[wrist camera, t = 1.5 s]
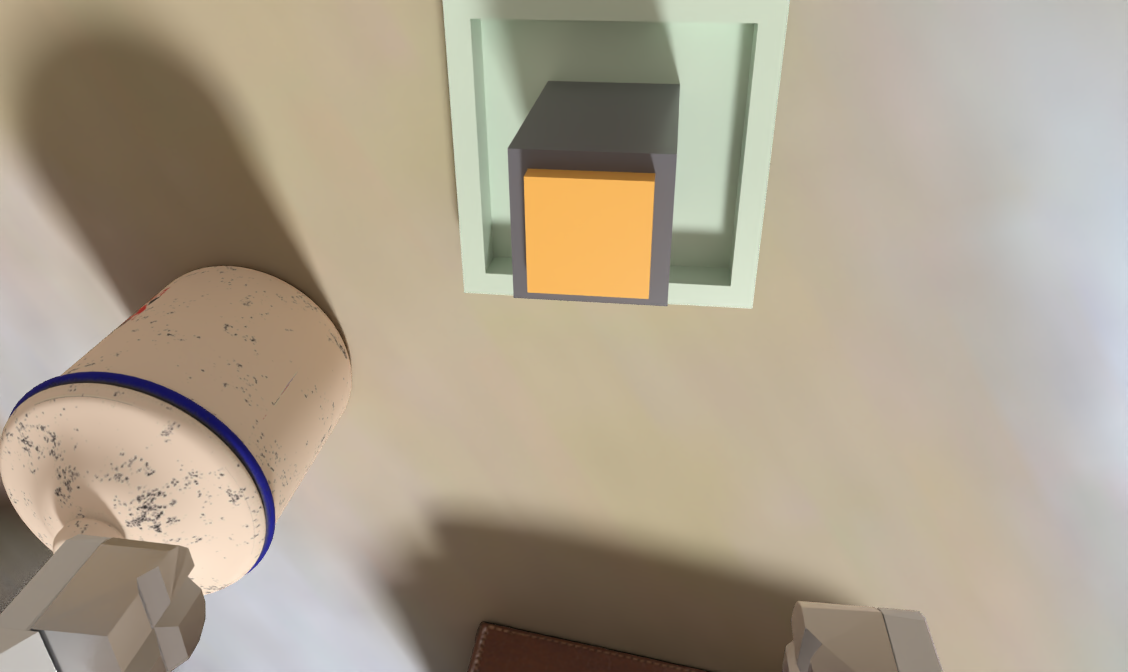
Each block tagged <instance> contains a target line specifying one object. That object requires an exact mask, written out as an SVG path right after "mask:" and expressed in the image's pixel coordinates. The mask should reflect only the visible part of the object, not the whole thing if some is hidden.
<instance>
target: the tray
mask: <svg viewBox="0 0 1128 672" xmlns="http://www.w3.org/2000/svg"><path fill="white" fill-rule="evenodd" d="M789 3H790V0H443V12H444V25H445V39H446V52H447V66H448V79H449V93H450V106H451V120H452V133H453V146H454V160H455V173H456V187H457V200H458V214H459V227H460V241H461V254H462V267H463V281H464V293H479V294H497V295H513V270H512V246H511V222H510V197H509V173H508V149H507V148H508V147H509V145H510V143H511V142H512V140H513V138H514V137H515V135H516V134H517V132H518V130H519V129H520V127H521V125H522V124H523V122H524V120H525V119H526V117H527V115H528V114H529V112H530V110H531V109H532V107H533V105H534V104H535V102H536V100H537V99H538V97H539V95H540V94H541V92H542V90H543V89H544V87H545V85H546V84H547V82H548V81H572V82H612V83H651V84H680V97H679V120H678V143H677V163H676V178H675V194H674V210H673V226H672V241H671V257H670V273H669V288H668V304H678V305H697V306H715V307H733V308H751V309H752V307H753V299H754V290H755V282H756V274H757V266H758V258H759V249H760V241H761V233H762V225H763V217H764V208H765V200H766V192H767V184H768V176H769V167H770V159H771V151H772V143H773V135H774V126H775V118H776V110H777V102H778V94H779V85H780V77H781V69H782V61H783V53H784V44H785V36H786V28H787V20H788V12H789Z"/></svg>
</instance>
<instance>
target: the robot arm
mask: <svg viewBox="0 0 1128 672" xmlns="http://www.w3.org/2000/svg"><path fill="white" fill-rule="evenodd" d="M194 566H195V565H194V562H193V559H192V556H191V554H190V551H189V548H187V547H183V546H180V545H172V544H164V543H155V542H147V541H139V540H130V539H122V538H109V537H100V536H91V535H82V534H78V535H76V536H74V537H72V538H70V539H68V540H66V541H65V542H64V543H63V544H62V545H61V546H60V548H59V549H58V550H57V551H56V552H55V553H54V554H53V555H52V557H51V558H50V559H49V560H48V561H47V562H46V563H45V564H44V566H43V567H42V568H41V569H40V570H39V571H38V572H37V573H36V575H35V576H34V577H33V578H32V579H31V580H30V581H29V582H28V584H27V585H26V586H25V587H24V588H23V589H22V590H21V591H20V593H19V594H18V595H17V596H16V597H15V598H14V599H13V600H12V602H11V603H10V604H9V605H8V606H7V607H6V608H5V609H4V611H3V612H2V613H1V614H0V672H170V671H172V670H173V669H175V668H176V667H178V666H179V665H181V664H182V663H184V662H185V661H187V660H188V659H189V658H190V656H191V654H192V653H193V651H194V649H195V647H196V646H197V644H198V642H199V640H200V636H201V633H202V629H203V626H204V622H205V599H204V596H203V592H202V589H201V588H200V587H199V586H198V585H196V584H195V583H194V582H193V581H192V580H191V579H190V578H189V577H188V575H189V574H190V572H191V571H192V569H193V568H194ZM791 627H792V634H793V641H791V642H790V643H789V644H787V645H786V647H785V653H784V659H783V665H782V672H943V670H942V667H941V664H940V661H939V658H938V655H937V652H936V649H935V646H934V643H933V640H932V637H931V634H930V631H929V628H928V625H927V622H926V619H925V617H924V616H923V615H922V614H921V613H920V611H912V610H901V609H889V608H877V609H876V608H875V607H868V606H855V605H843V604H830V603H818V602H805V601H797V602H796V604H795V606H794V609H793V613H792V618H791Z"/></svg>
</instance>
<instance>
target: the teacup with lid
mask: <svg viewBox="0 0 1128 672" xmlns="http://www.w3.org/2000/svg"><path fill="white" fill-rule="evenodd" d="M351 387H352V373H351V365H350V360H349V356H348V353H347V349H346V347H345V345H344V342H343V340H342V338H341V336H340V334H339V332H338V331H337V329H336V328H335V326H334V325H333V323H332V322H331V321H330V319H329V318H328V317H327V315H326V314H325V313H324V312H323V311H322V310H321V309H320V308H319V307H318V306H317V305H316V304H315V303H314V302H313V301H312V300H311V299H309V298H308V297H307V296H306V295H304V294H303V293H302V292H300V291H299V290H297V289H296V288H294V287H293V286H291V285H289V284H288V283H286V282H284V281H282V280H280V279H278V278H276V277H274V276H271V275H269V274H266V273H263V272H260V271H257V270H253V269H248V268H243V267H235V266H214V267H207V268H201V269H198V270H194V271H191V272H189V273H187V274H184V275H182V276H181V277H179V278H177V279H175V280H174V281H173V282H171V283H170V284H169V285H167V286H166V287H165V288H164V289H163V290H161V291H160V292H159V293H158V294H157V295H156V296H154V297H153V298H152V299H151V300H150V301H148V302H147V303H146V304H145V305H144V306H142V307H141V308H140V309H139V310H138V311H137V312H135V313H134V314H133V315H132V316H131V317H129V318H128V319H127V320H126V321H125V322H124V323H122V324H121V325H120V326H119V327H118V328H116V329H115V330H114V331H113V332H112V333H110V334H109V335H108V336H107V337H106V338H105V339H103V340H102V341H101V342H100V343H99V344H97V345H96V346H95V347H94V348H93V349H91V350H90V351H89V352H88V353H87V354H86V355H84V356H83V357H82V358H81V359H80V360H78V361H77V362H76V363H75V364H74V365H72V366H71V367H70V368H69V369H68V370H67V371H65V372H64V373H63V374H62V375H61V376H58V377H55V378H52V379H50V380H47V381H45V382H43V383H41V384H39V385H38V386H36V387H34V388H33V389H32V390H30V391H29V392H28V393H26V394H25V395H24V396H23V397H22V399H21V400H20V401H19V402H18V403H17V404H16V406H15V407H14V409H13V410H12V412H11V415H10V417H9V419H8V421H7V423H6V425H5V427H4V429H3V433H2V436H1V441H0V473H1V477H2V481H3V484H4V487H5V490H6V492H7V495H8V497H9V499H10V501H11V503H12V505H13V506H14V508H15V510H16V511H17V513H18V514H19V516H20V517H21V519H22V520H23V521H24V523H25V524H26V525H27V526H28V527H29V529H30V530H31V531H32V532H33V533H34V534H35V535H36V536H37V537H38V539H39V540H40V541H42V542H43V543H44V544H45V545H46V546H47V547H48V548H49V549H50V550H52V551H53V554H54V553H55V552H56V551H57V550H58V549H59V548H60V546H61V545H62V544H63V543H64V542H65V541H66V540H68V539H70V538H72V537H74V536H76V535H78V534H82V535H91V536H100V537H109V538H122V539H130V540H139V541H147V542H155V543H164V544H172V545H180V546H183V547H187V548H189V551H190V554H191V556H192V559H193V562H194V565H195V566H194V568H193V569H192V571H191V572H190V574H189V575H188V577H189V578H190V579H191V580H192V581H193V582H194V583H195V584H196V585H198V586H199V587H200V588H201V589H202V592H203V595H206V594H210V593H213V592H216V591H218V590H221V589H223V588H225V587H227V586H229V585H231V584H233V583H235V582H236V581H238V580H239V579H241V578H242V577H243V576H244V575H246V574H247V573H249V572H250V571H251V570H252V569H253V568H254V567H256V566H257V565H258V563H259V562H260V561H261V560H262V558H263V557H264V555H265V554H266V552H267V550H268V549H269V546H270V544H271V541H272V539H273V535H274V530H275V524H276V522H277V520H278V519H279V517H280V515H281V514H282V512H283V510H284V509H285V507H286V506H287V504H288V502H289V501H290V499H291V497H292V496H293V494H294V492H295V491H296V489H297V488H298V486H299V484H300V483H301V481H302V479H303V478H304V476H305V474H306V473H307V471H308V470H309V468H310V466H311V465H312V463H313V461H314V460H315V458H316V456H317V455H318V453H319V452H320V450H321V448H322V447H323V445H324V443H325V442H326V440H327V438H328V437H329V435H330V434H331V432H332V430H333V429H334V427H335V425H336V424H337V422H338V420H339V419H340V417H341V416H342V414H343V412H344V410H345V408H346V406H347V403H348V400H349V397H350V393H351Z"/></svg>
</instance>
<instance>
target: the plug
mask: <svg viewBox="0 0 1128 672" xmlns="http://www.w3.org/2000/svg"><path fill="white" fill-rule="evenodd" d="M679 97H680V84H651V83H612V82H572V81H548V82H547V84H546V85H545V87H544V89H543V90H542V92H541V94H540V95H539V97H538V99H537V100H536V102H535V104H534V105H533V107H532V109H531V110H530V112H529V114H528V115H527V117H526V119H525V120H524V122H523V124H522V125H521V127H520V129H519V130H518V132H517V134H516V135H515V137H514V138H513V140H512V142H511V143H510V145H509V147H508V148H507V149H508V173H509V197H510V222H511V246H512V270H513V295H514V298H528V299H546V300H564V301H582V302H601V303H619V304H637V305H655V306H667V304H668V288H669V273H670V257H671V241H672V226H673V210H674V194H675V178H676V163H677V143H678V120H679Z"/></svg>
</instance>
